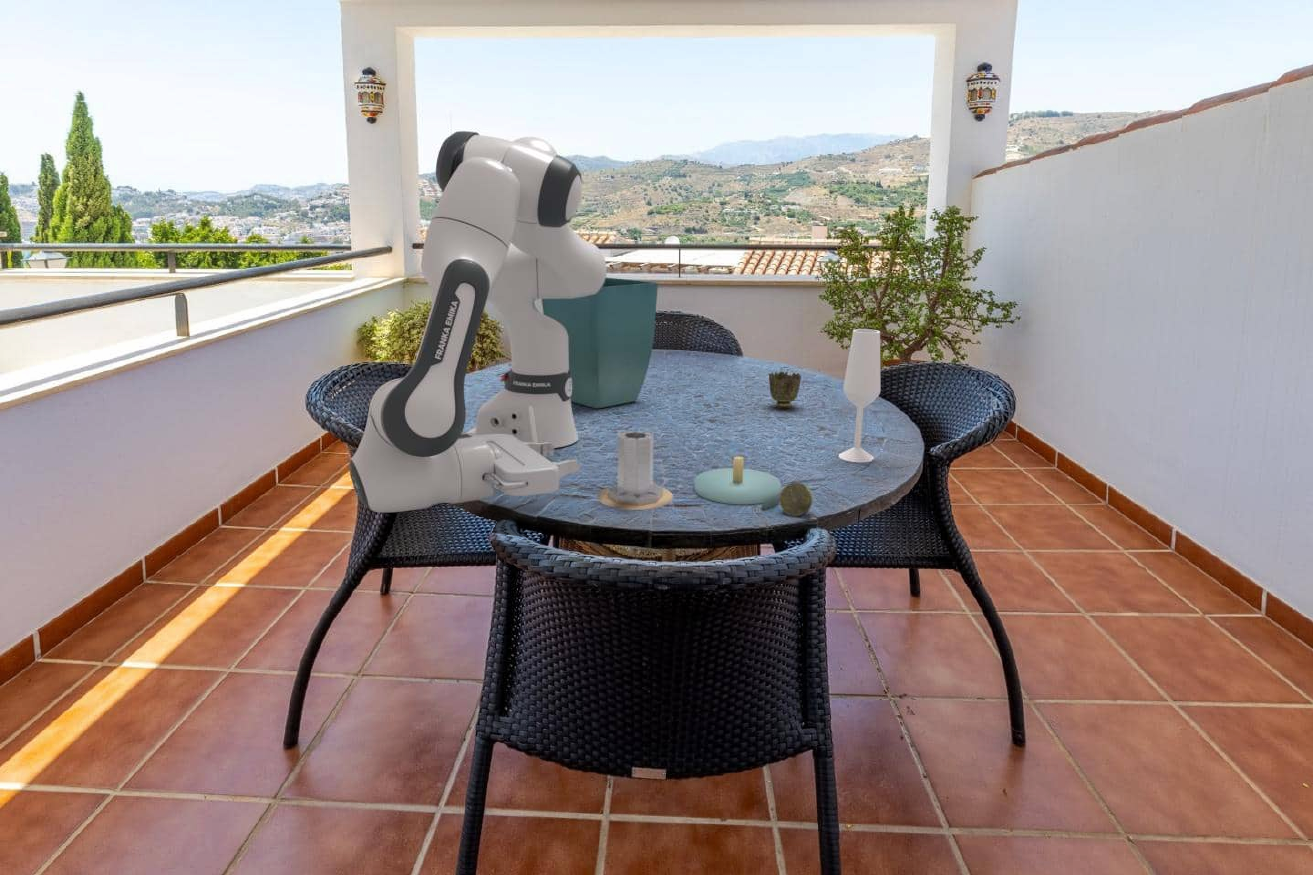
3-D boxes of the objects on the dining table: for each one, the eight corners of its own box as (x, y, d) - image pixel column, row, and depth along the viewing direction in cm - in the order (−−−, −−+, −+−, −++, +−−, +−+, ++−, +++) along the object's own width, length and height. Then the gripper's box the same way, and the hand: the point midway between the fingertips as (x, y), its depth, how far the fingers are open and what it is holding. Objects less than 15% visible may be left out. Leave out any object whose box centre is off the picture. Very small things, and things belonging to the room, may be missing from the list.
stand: (586, 512, 128) (586, 504, 127) (611, 487, 139) (611, 480, 139) (662, 520, 125) (662, 513, 124) (680, 494, 136) (680, 487, 136)
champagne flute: (831, 453, 159) (840, 329, 152) (860, 450, 161) (870, 327, 155) (851, 464, 153) (861, 334, 146) (881, 460, 155) (893, 332, 149)
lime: (814, 518, 126) (816, 487, 125) (783, 519, 126) (785, 488, 125) (806, 507, 131) (808, 477, 129) (776, 508, 130) (778, 478, 129)
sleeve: (602, 501, 129) (602, 440, 126) (618, 485, 136) (618, 426, 134) (653, 507, 127) (654, 444, 124) (666, 490, 134) (667, 430, 132)
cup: (804, 406, 195) (806, 373, 193) (791, 413, 189) (793, 378, 187) (775, 402, 199) (777, 369, 197) (762, 408, 193) (763, 374, 191)
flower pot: (541, 399, 199) (537, 280, 191) (605, 388, 212) (604, 276, 204) (592, 415, 185) (591, 287, 177) (658, 402, 198) (660, 282, 190)
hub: (685, 506, 131) (686, 466, 129) (704, 478, 144) (705, 442, 142) (774, 515, 127) (776, 475, 125) (785, 486, 140) (787, 449, 138)
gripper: (496, 467, 107) (593, 453, 114) (452, 431, 124) (539, 421, 131) (498, 512, 109) (593, 497, 115) (454, 471, 126) (540, 459, 133)
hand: (564, 456), depth 123 cm, fingers open, 8 cm apart
